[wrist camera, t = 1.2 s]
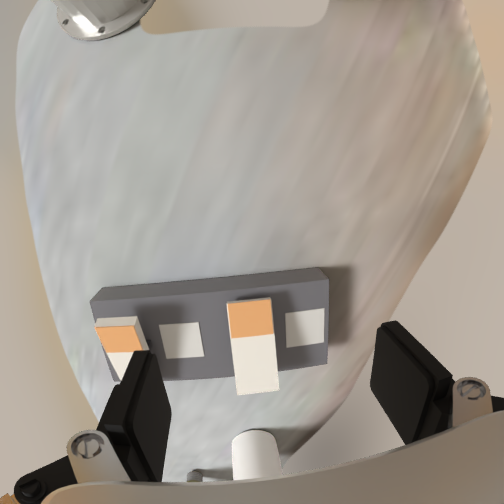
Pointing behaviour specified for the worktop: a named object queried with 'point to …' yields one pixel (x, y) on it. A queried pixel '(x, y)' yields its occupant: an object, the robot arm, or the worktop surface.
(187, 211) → the worktop surface
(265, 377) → the rocker
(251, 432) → the can
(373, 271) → the worktop surface
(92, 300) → the switch panel
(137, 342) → the rocker
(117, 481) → the robot arm
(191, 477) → the light bulb
